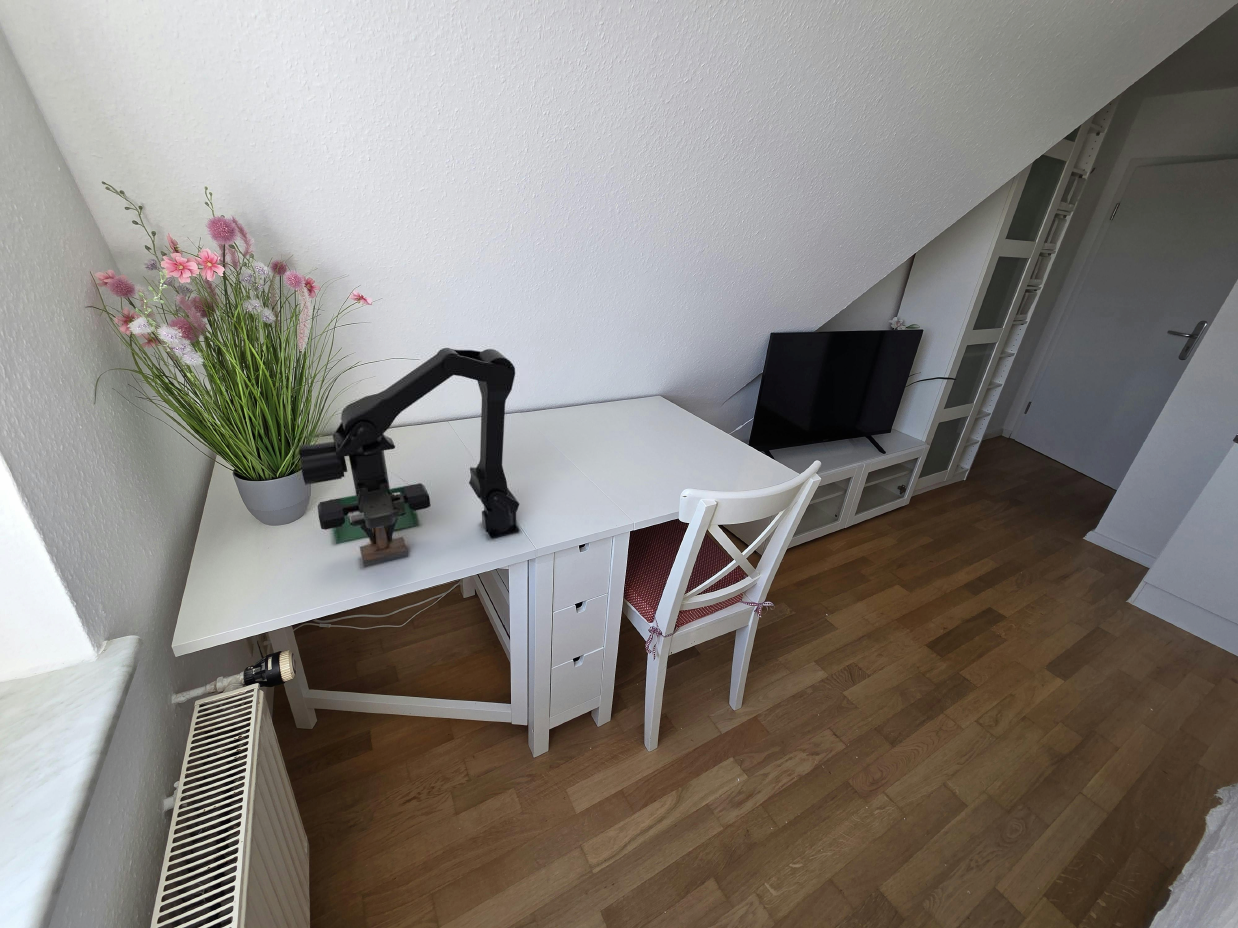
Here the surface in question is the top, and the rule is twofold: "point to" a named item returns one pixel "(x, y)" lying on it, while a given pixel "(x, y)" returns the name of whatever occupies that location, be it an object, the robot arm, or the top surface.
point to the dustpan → (352, 533)
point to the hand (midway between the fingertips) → (382, 541)
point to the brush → (383, 548)
